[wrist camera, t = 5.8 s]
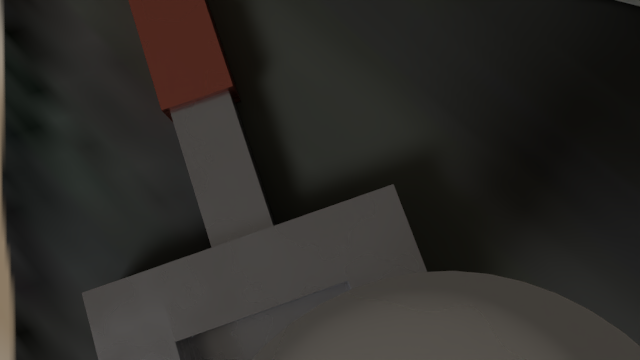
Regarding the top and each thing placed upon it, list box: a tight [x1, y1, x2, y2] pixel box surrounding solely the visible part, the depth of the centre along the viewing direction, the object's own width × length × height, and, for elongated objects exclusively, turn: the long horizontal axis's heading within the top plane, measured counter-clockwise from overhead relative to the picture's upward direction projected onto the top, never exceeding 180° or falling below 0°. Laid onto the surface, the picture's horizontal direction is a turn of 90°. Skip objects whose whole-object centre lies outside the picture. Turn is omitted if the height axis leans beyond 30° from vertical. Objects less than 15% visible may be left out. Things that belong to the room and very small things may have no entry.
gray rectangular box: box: [82, 0, 427, 360], centre depth 22 cm, size 25×12×2 cm, turn 19°
